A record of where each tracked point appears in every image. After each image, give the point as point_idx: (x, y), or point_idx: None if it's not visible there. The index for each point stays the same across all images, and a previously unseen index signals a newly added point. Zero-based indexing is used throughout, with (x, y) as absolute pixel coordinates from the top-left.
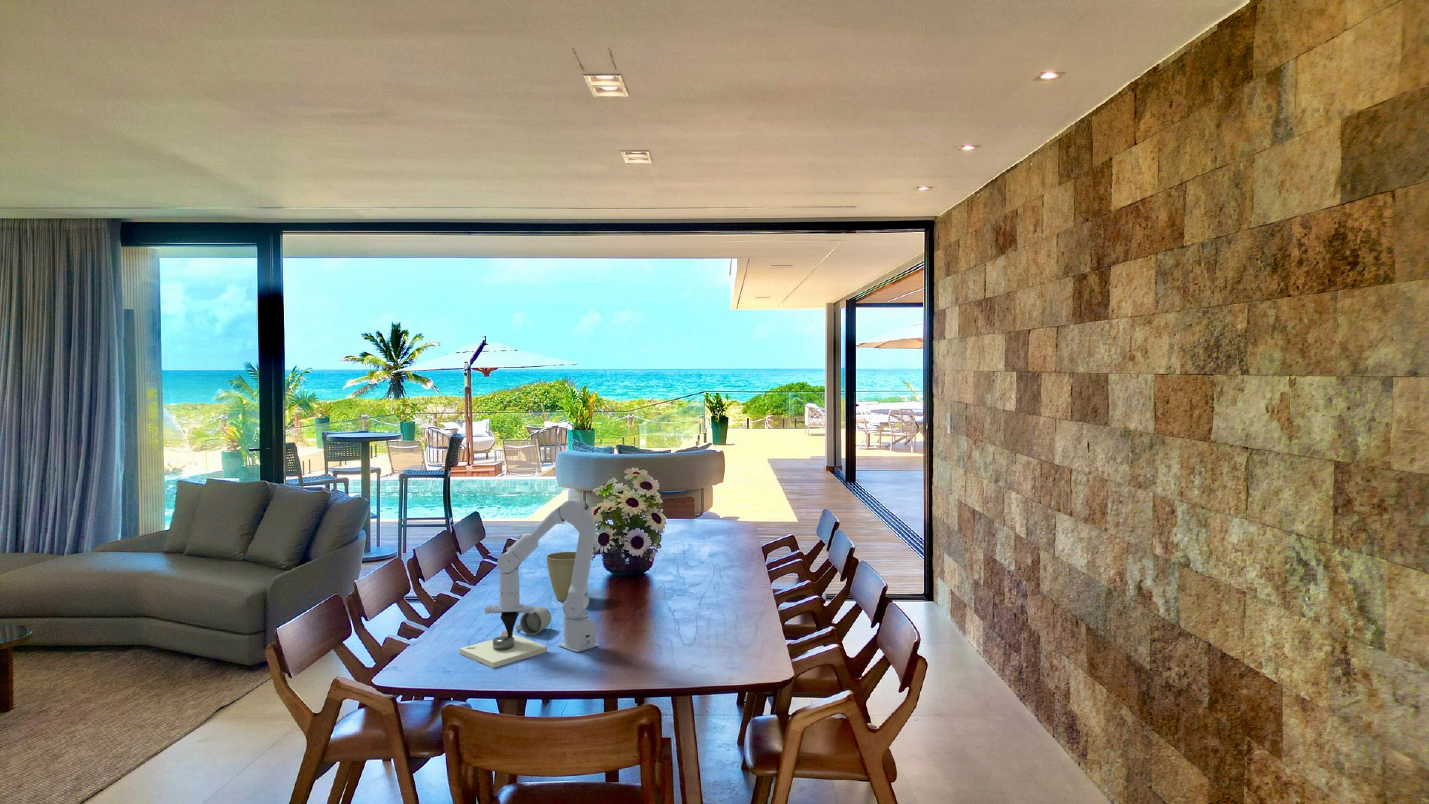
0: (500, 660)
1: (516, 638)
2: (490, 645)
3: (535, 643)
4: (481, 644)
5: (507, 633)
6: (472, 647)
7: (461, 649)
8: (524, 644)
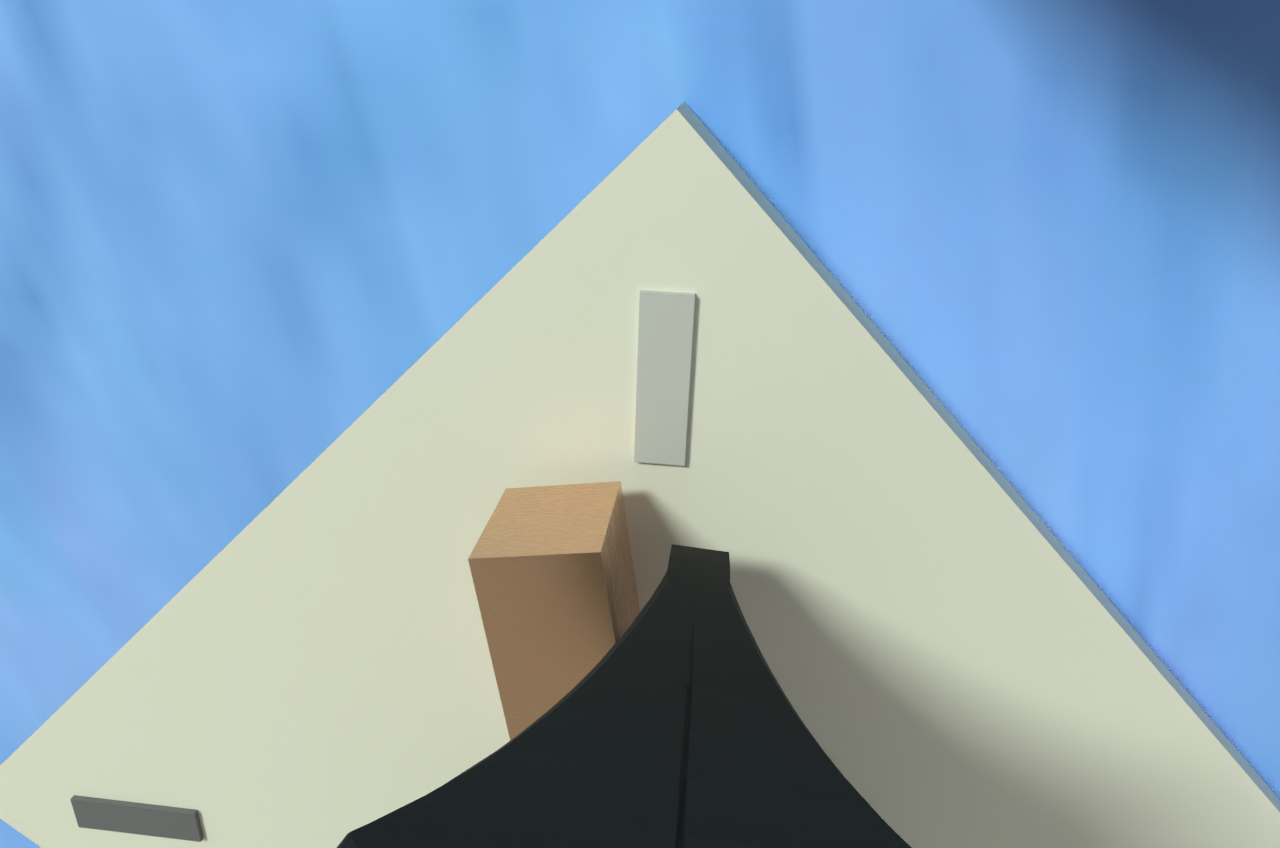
0: None
1: (808, 463)
2: (395, 757)
3: (1210, 802)
4: (222, 687)
5: None
6: (148, 808)
7: (24, 831)
8: (993, 811)
